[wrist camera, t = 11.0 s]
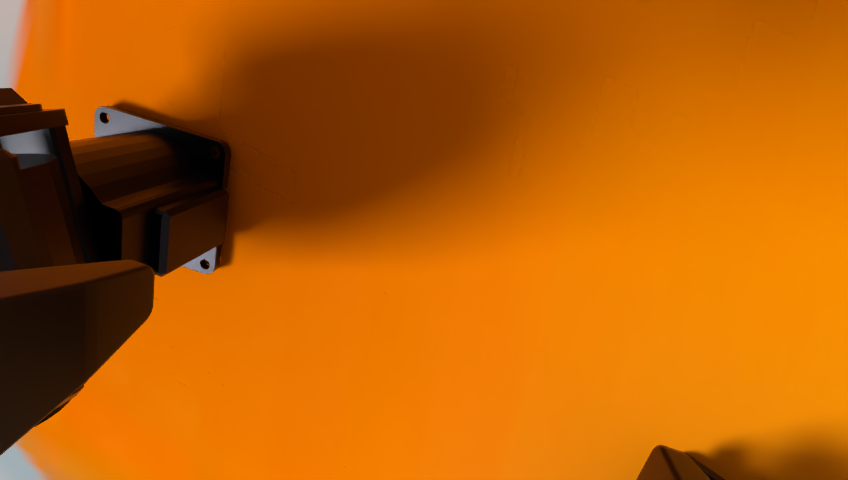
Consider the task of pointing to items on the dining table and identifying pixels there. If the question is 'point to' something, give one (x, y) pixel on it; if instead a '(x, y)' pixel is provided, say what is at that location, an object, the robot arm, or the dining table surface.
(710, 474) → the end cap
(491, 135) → the dining table surface
